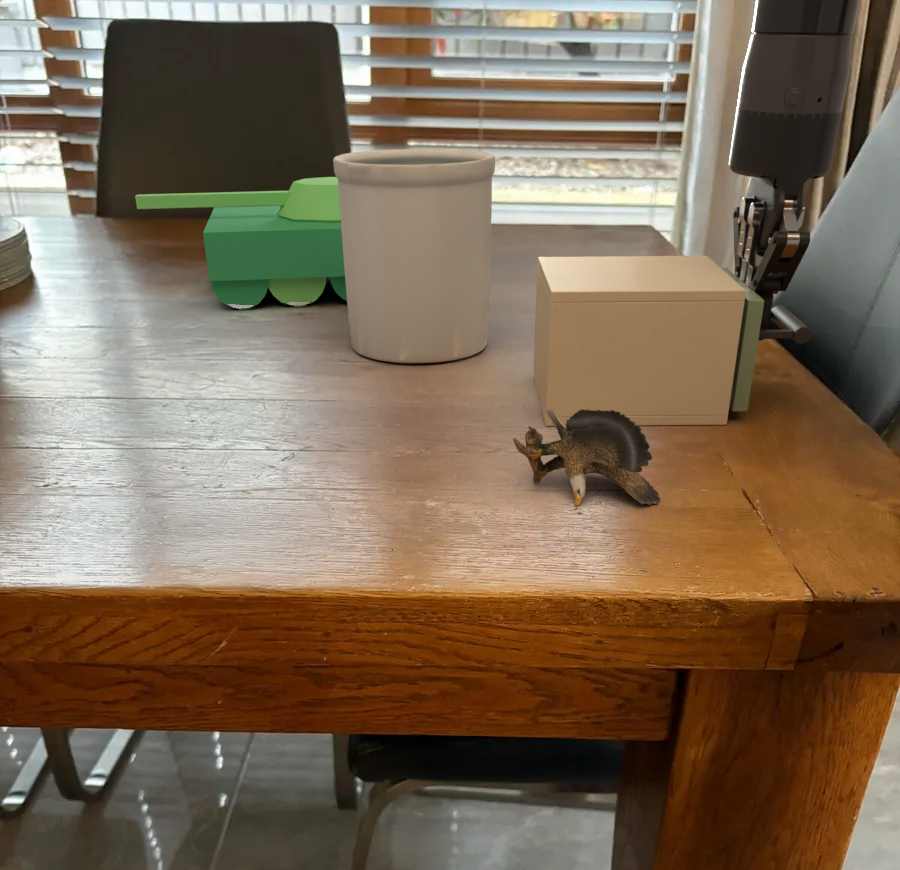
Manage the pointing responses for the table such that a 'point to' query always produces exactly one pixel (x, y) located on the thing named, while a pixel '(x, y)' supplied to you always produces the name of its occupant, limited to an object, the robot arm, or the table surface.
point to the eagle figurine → (594, 452)
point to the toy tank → (269, 240)
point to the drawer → (749, 340)
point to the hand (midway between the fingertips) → (750, 337)
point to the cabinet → (637, 338)
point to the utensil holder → (416, 251)
